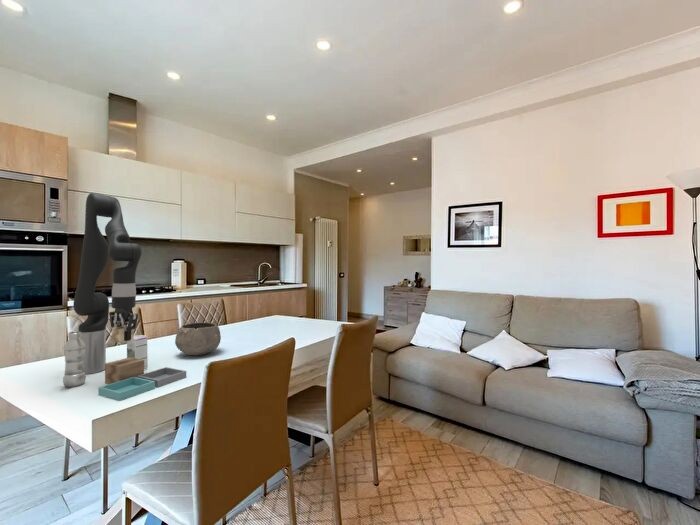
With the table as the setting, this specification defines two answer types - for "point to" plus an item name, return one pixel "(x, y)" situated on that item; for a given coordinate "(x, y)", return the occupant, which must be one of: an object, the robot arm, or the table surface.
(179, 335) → the clay pot
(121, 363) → the walnut stand
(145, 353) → the syrup box
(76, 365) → the plastic bottle
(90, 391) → the table surface
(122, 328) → the letter cube
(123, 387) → the teal bin
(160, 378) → the gray bin
